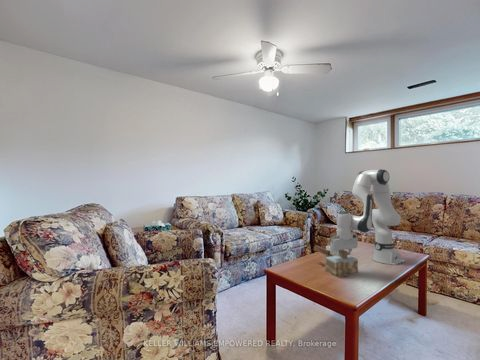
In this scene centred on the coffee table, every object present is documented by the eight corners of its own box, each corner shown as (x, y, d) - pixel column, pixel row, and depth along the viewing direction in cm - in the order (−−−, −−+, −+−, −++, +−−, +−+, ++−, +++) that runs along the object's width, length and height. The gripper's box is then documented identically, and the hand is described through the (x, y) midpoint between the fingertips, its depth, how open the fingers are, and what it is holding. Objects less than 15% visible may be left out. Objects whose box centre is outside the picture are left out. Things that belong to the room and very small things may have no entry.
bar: (316, 249, 178) (316, 245, 178) (330, 255, 164) (330, 251, 164) (314, 249, 177) (314, 245, 177) (327, 255, 163) (327, 251, 163)
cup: (332, 265, 170) (332, 249, 170) (323, 261, 179) (323, 245, 178) (341, 263, 174) (341, 247, 174) (332, 259, 182) (332, 244, 182)
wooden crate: (344, 266, 168) (344, 252, 168) (359, 273, 156) (359, 258, 156) (323, 269, 163) (323, 254, 163) (337, 277, 150) (337, 261, 150)
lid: (346, 256, 166) (346, 248, 166) (357, 260, 157) (357, 252, 157) (325, 259, 161) (325, 250, 161) (335, 263, 152) (335, 255, 152)
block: (336, 260, 180) (336, 234, 180) (328, 258, 186) (328, 232, 186) (345, 258, 186) (345, 233, 185) (336, 255, 192) (337, 231, 192)
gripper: (334, 237, 153) (334, 258, 153) (359, 235, 160) (359, 255, 160) (328, 235, 159) (327, 255, 159) (352, 233, 166) (352, 252, 166)
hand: (343, 255), depth 160 cm, fingers open, 7 cm apart
